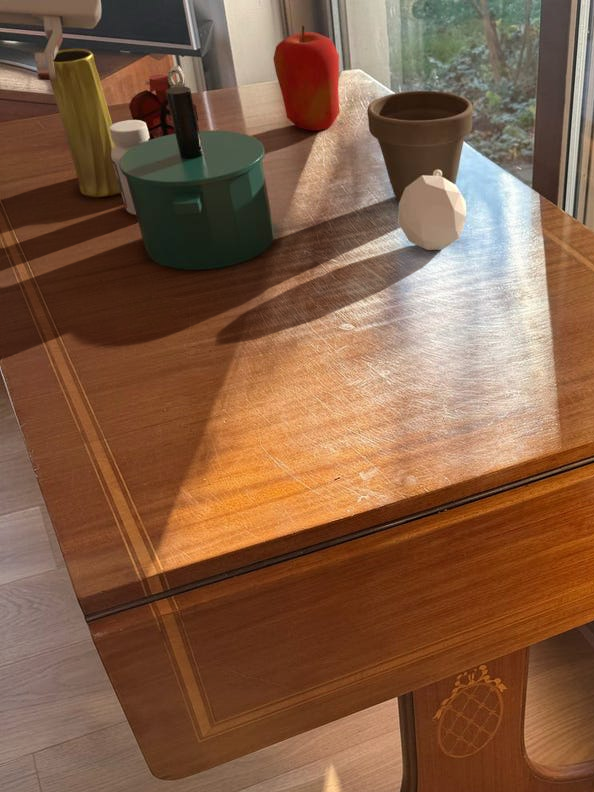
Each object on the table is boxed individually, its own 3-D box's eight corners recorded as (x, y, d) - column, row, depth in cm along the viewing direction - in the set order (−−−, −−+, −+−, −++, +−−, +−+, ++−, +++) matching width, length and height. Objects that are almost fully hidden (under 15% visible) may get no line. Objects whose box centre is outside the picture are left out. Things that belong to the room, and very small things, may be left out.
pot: (136, 286, 100) (111, 200, 94) (158, 212, 113) (138, 133, 107) (270, 276, 100) (255, 191, 94) (277, 204, 114) (263, 125, 108)
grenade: (206, 158, 125) (187, 71, 118) (141, 165, 124) (119, 77, 117) (205, 145, 128) (187, 59, 121) (142, 151, 127) (120, 65, 120)
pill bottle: (182, 204, 114) (162, 122, 108) (149, 220, 111) (127, 136, 105) (149, 195, 116) (128, 114, 110) (116, 211, 113) (93, 128, 107)
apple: (293, 114, 136) (279, 16, 128) (352, 115, 135) (341, 16, 127) (276, 135, 130) (259, 34, 122) (337, 137, 129) (325, 34, 121)
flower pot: (460, 175, 119) (457, 83, 111) (486, 211, 111) (485, 114, 104) (367, 187, 117) (358, 94, 109) (386, 224, 109) (378, 127, 102)
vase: (69, 195, 117) (27, 61, 107) (100, 176, 121) (62, 45, 111) (112, 200, 116) (74, 65, 106) (142, 181, 120) (107, 49, 110)
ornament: (384, 246, 105) (394, 168, 103) (448, 263, 107) (460, 186, 106) (403, 235, 98) (415, 151, 97) (471, 253, 101) (483, 171, 100)
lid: (112, 198, 96) (89, 119, 91) (132, 145, 106) (113, 72, 101) (262, 187, 96) (248, 109, 91) (268, 137, 107) (256, 64, 102)
